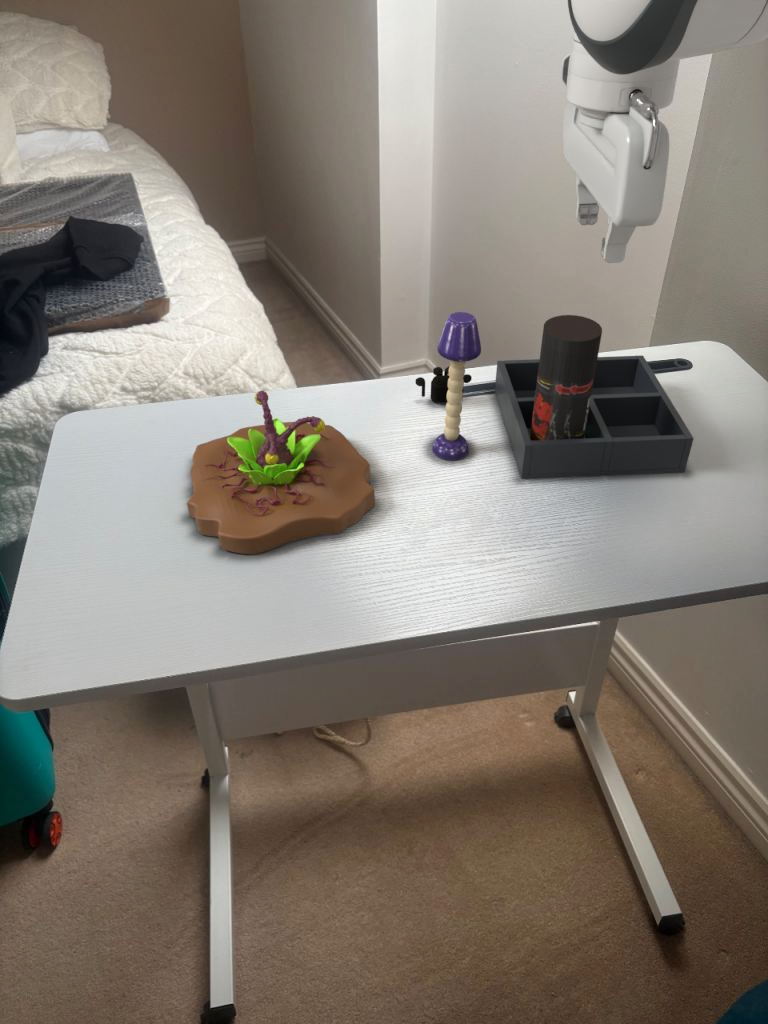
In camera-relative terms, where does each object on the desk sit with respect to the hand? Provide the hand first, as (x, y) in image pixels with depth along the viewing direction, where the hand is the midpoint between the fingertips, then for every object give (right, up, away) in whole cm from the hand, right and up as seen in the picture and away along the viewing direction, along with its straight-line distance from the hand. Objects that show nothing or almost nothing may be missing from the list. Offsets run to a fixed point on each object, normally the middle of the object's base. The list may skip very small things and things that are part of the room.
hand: (598, 240), depth 78 cm
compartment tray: (+4, -16, +21) cm, 26 cm away
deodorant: (-1, -18, +17) cm, 25 cm away
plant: (-32, -23, +13) cm, 41 cm away
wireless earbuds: (-13, -12, +26) cm, 31 cm away
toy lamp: (-12, -19, +18) cm, 29 cm away
